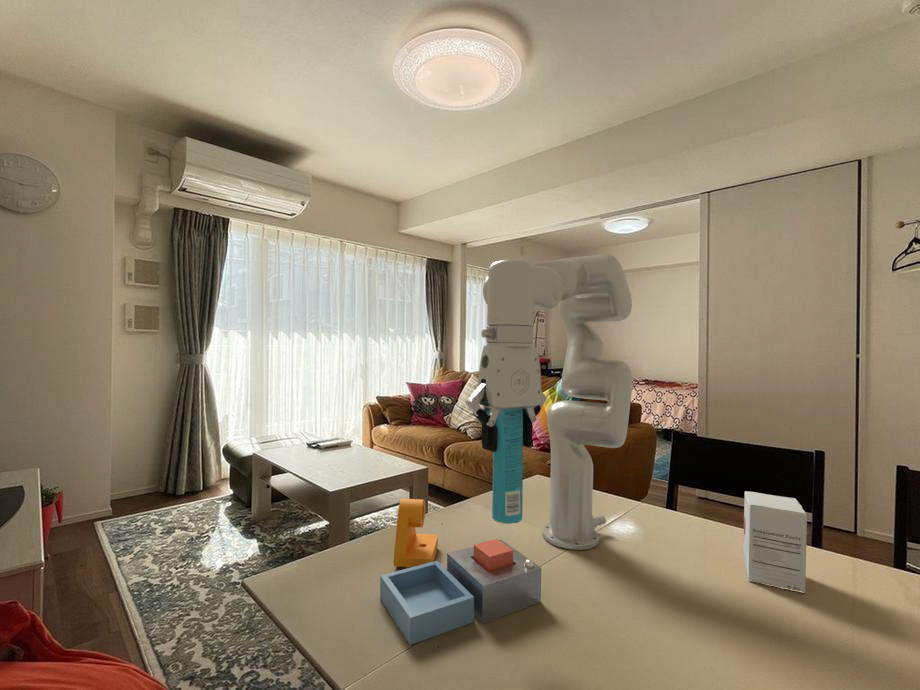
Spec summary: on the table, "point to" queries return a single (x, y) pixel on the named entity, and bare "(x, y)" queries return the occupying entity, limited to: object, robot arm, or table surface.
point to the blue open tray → (426, 601)
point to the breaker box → (497, 583)
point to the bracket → (413, 536)
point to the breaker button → (493, 555)
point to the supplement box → (775, 540)
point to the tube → (508, 467)
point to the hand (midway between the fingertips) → (507, 446)
